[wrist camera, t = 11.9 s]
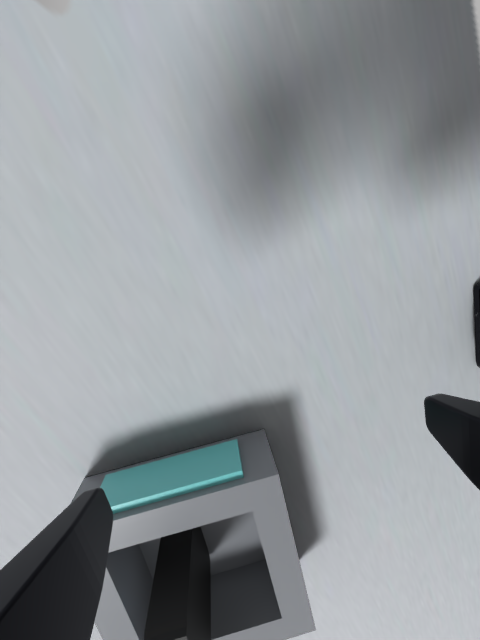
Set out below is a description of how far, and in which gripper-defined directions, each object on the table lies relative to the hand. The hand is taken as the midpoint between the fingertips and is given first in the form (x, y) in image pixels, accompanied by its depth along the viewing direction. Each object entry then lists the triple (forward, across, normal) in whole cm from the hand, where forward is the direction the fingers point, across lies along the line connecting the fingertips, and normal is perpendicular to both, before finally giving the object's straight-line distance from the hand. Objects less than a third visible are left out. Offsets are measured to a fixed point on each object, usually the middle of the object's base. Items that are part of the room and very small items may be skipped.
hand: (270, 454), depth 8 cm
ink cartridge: (+12, +7, +14) cm, 20 cm away
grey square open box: (+12, +6, +14) cm, 19 cm away
